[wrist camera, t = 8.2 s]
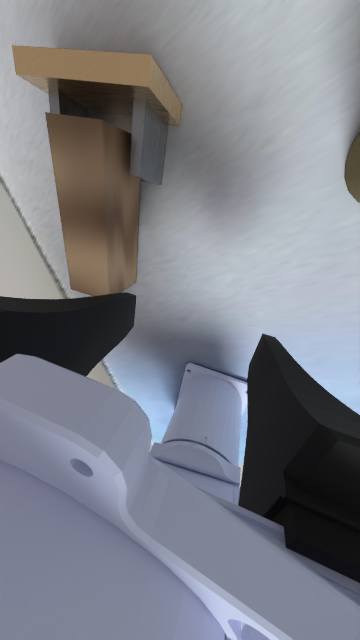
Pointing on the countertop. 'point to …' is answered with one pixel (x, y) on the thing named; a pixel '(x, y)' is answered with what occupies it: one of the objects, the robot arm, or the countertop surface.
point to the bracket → (108, 96)
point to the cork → (353, 169)
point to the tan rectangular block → (96, 202)
